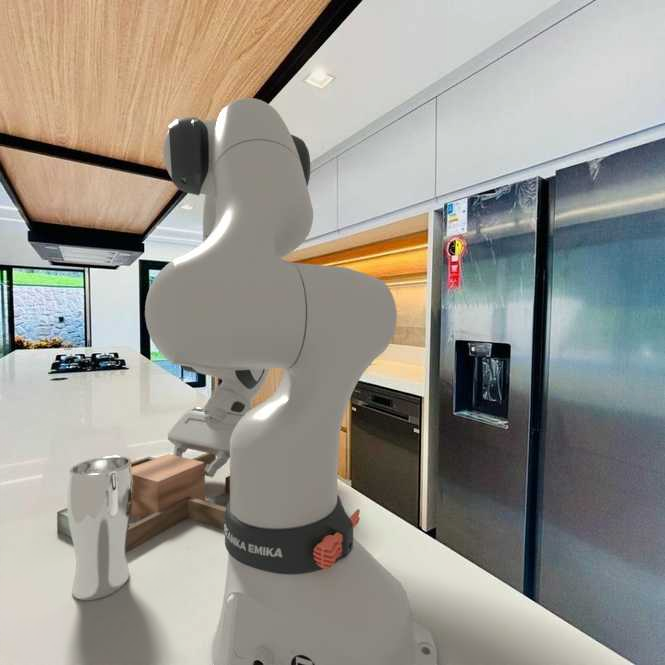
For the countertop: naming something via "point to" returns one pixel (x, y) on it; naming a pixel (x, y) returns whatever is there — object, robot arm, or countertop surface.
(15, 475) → the countertop surface
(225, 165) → the robot arm
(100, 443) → the countertop surface
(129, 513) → the beer glass
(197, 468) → the terracotta block
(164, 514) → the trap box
